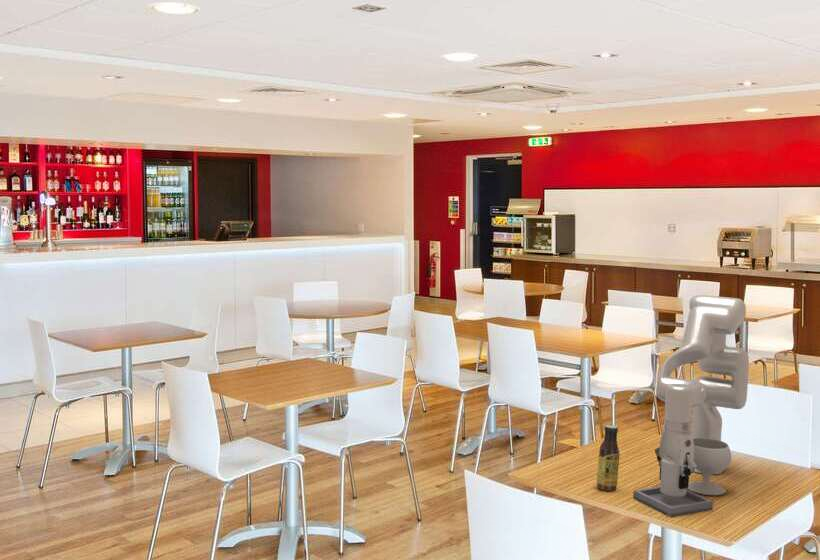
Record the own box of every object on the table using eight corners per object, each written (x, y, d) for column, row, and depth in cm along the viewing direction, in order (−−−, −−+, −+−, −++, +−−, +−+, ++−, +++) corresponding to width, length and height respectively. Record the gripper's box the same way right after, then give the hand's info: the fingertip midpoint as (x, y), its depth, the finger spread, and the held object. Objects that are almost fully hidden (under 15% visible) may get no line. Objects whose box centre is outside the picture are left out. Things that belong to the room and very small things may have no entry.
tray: (673, 491, 268) (674, 484, 267) (712, 509, 253) (712, 501, 253) (633, 498, 261) (633, 490, 260) (670, 517, 246) (670, 508, 246)
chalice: (704, 480, 280) (707, 434, 278) (738, 494, 267) (742, 446, 266) (672, 485, 273) (675, 439, 272) (705, 500, 261) (709, 451, 260)
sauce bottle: (605, 493, 264) (608, 430, 262) (592, 486, 270) (595, 424, 268) (621, 490, 267) (625, 427, 265) (608, 484, 273) (611, 422, 271)
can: (687, 500, 252) (689, 460, 251) (660, 497, 254) (663, 458, 253) (684, 491, 260) (686, 453, 258) (658, 489, 261) (660, 450, 260)
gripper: (708, 432, 248) (704, 491, 250) (666, 417, 264) (663, 473, 266) (688, 435, 245) (684, 495, 247) (647, 419, 261) (644, 476, 263)
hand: (673, 483), depth 256 cm, fingers closed on can, 7 cm apart
